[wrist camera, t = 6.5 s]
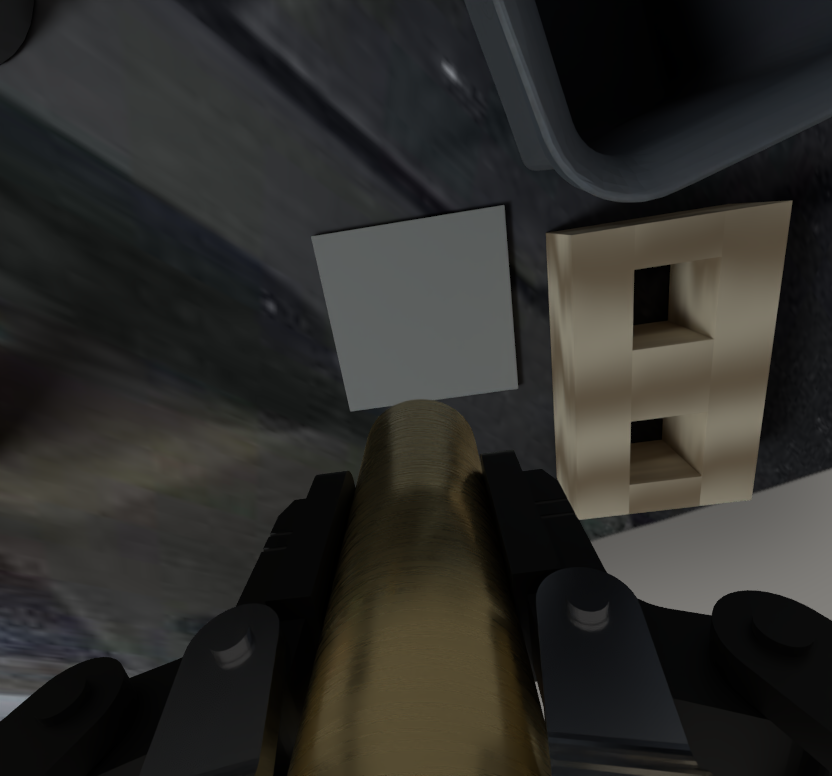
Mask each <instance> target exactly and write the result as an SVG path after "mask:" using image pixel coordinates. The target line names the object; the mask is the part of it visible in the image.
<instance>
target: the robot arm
mask: <svg viewBox="0 0 832 776" xmlns="http://www.w3.org/2000/svg"><path fill="white" fill-rule="evenodd" d="M33 7H34V0H0V64H2V63H3V62H4V61H6V60H7V59H8V58H10V57H11V56H12V55H14V54H15V52H16V51H17V50H18V48H19V47H20V46H21V44H22V43H23V42H24V40H25V37H26V35H27V32H28V30H29V27H30V25H31V20H32V13H33ZM480 459H481V469H482V475H483V480H484V484H485V488H486V492H487V496H488V500H489V504H490V508H491V513H492V517H493V521H494V525H495V529H496V533H497V537H498V541H499V545H500V550H501V554H502V558H503V562H504V566H505V570H506V574H507V578H508V583H509V587H510V591H511V595H512V599H513V603H514V607H515V611H516V614H517V616H518V619H519V621H520V624H521V628H522V632H523V636H524V640H525V644H526V648H527V652H528V656H529V660H530V664H531V669H532V673H533V677H534V681H535V682H536V681H537V683H538V687H539V690H540V694H541V698H542V702H543V706H544V715H545V725H546V729H547V740H548V752H549V764H550V775H551V776H832V621H831V620H829V619H828V618H826V617H824V616H823V615H821V614H819V613H818V612H816V611H815V610H813V609H811V608H809V607H807V606H805V605H803V604H801V603H799V602H797V601H794V600H792V599H789V598H786V597H783V596H781V595H777V594H773V593H769V592H761V591H748V590H747V591H737V592H733V593H730V594H727V595H725V596H723V597H722V598H721V599H720V600H718V601H717V603H716V604H715V606H714V608H713V612H712V615H705V614H698V613H692V612H686V611H680V610H674V609H667V608H663V607H659V606H655V605H652V604H649V603H646V602H644V601H642V600H640V599H637V598H636V596H635V595H634V593H633V592H632V591H631V590H630V589H629V588H628V586H626V585H625V584H624V583H623V582H621V581H620V580H618V579H617V578H616V577H614V576H612V575H610V574H608V573H607V572H606V570H605V569H604V567H603V565H602V563H601V561H600V559H599V558H598V555H597V554H596V552H595V550H594V548H593V546H592V544H591V542H590V540H589V538H588V536H587V534H586V533H585V531H584V529H583V527H582V525H581V523H580V521H579V519H578V517H577V515H575V513H574V510H573V508H572V506H571V504H570V502H569V501H568V500H567V496H566V495H565V493H564V491H563V489H562V487H561V485H560V483H559V481H557V480H556V479H555V478H553V477H552V476H551V475H549V474H548V473H546V472H545V471H544V470H542V469H537V470H529V471H522V469H521V467H520V464H519V462H518V459H517V457H516V454H515V452H514V450H506V451H498V452H491V453H483V454H480ZM355 489H356V488H355V484H354V480H353V477H352V474H351V473H350V471H343V472H336V473H328V474H320V475H316V476H315V478H314V480H313V483H312V485H311V488H310V490H309V493H308V495H307V498H306V499H299V500H294V501H293V502H292V503H291V504H290V505H289V506H288V507H287V508H286V509H285V510H284V511H283V512H282V513H281V514H280V515H279V516H278V519H277V521H276V523H275V525H274V527H273V529H272V531H271V533H270V534H271V537H269V538H268V540H267V542H266V544H265V546H264V548H263V549H264V552H261V554H260V557H259V559H258V561H257V563H256V565H255V567H254V569H253V571H252V573H251V576H250V578H249V580H248V582H247V584H246V586H245V588H244V590H243V592H242V595H241V597H240V599H239V601H238V603H237V605H236V607H234V608H231V609H229V610H227V611H225V612H223V613H221V614H219V615H218V616H216V617H215V618H213V619H212V620H211V621H209V622H208V623H207V624H206V625H204V626H203V627H202V628H201V629H200V630H199V631H198V633H197V634H196V635H195V636H194V637H193V639H192V640H191V642H190V643H189V645H188V646H187V649H186V651H185V653H184V655H183V657H182V658H180V659H178V660H175V661H173V662H170V663H167V664H165V665H162V666H160V667H157V668H155V669H152V670H149V671H147V672H144V673H142V674H139V675H136V676H134V677H131V678H129V677H128V675H127V673H126V672H125V670H124V668H123V666H122V665H121V663H120V662H119V661H117V660H116V659H113V658H110V657H100V658H94V659H90V660H87V661H84V662H81V663H79V664H77V665H75V666H72V667H70V668H68V669H67V670H65V671H63V672H62V673H60V674H58V675H57V676H55V677H54V678H52V679H51V680H49V681H48V682H47V683H46V684H44V685H43V686H42V687H41V688H39V689H38V690H37V691H36V692H35V693H33V694H32V695H31V696H30V697H29V698H28V699H26V700H25V701H24V702H23V703H22V704H20V705H19V706H18V707H17V708H16V709H15V710H13V711H12V712H11V713H10V714H9V715H8V716H6V717H5V718H4V719H3V720H2V721H0V776H287V774H288V770H289V765H290V761H291V757H292V753H293V749H294V745H295V740H296V736H297V732H298V728H299V724H300V719H301V715H302V711H303V707H304V703H305V698H306V694H307V690H308V686H309V682H310V678H311V673H312V669H313V665H314V661H315V657H316V652H317V648H318V644H319V640H320V636H321V631H322V627H323V623H324V619H325V615H326V611H327V606H328V602H329V598H330V594H331V590H332V585H333V581H334V577H335V573H336V569H337V564H338V560H339V556H340V552H341V548H342V544H343V539H344V535H345V531H346V527H347V523H348V518H349V514H350V510H351V506H352V502H353V497H354V493H355Z"/></svg>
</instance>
